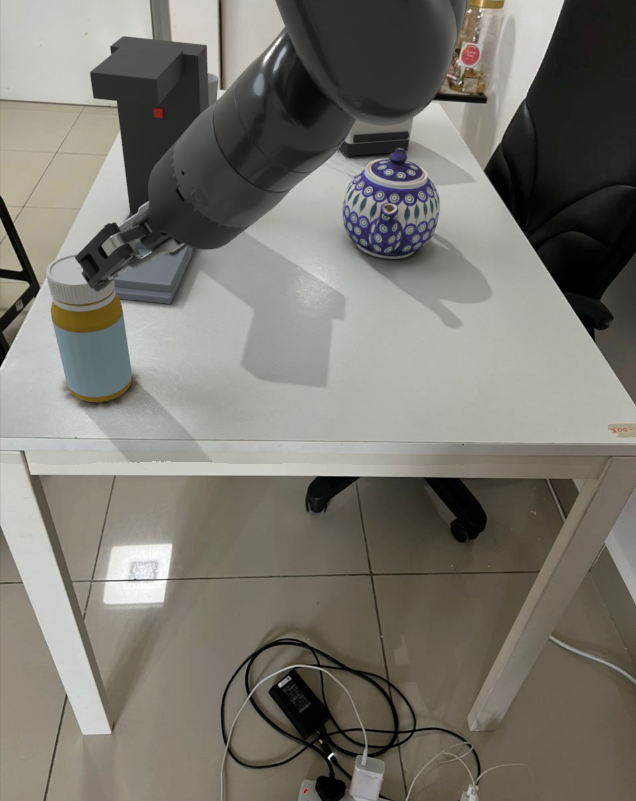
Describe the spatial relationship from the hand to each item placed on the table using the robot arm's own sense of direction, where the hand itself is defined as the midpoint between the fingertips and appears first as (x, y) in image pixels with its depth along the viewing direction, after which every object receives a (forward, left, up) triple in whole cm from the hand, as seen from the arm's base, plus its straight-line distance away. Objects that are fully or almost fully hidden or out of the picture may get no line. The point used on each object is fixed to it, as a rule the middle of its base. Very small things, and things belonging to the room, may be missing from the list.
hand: (131, 262), depth 57 cm
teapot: (+48, +21, -19) cm, 56 cm away
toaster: (+67, +63, -19) cm, 94 cm away
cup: (+45, +83, -19) cm, 96 cm away
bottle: (-3, +8, -19) cm, 21 cm away
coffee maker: (+15, +35, -19) cm, 42 cm away
